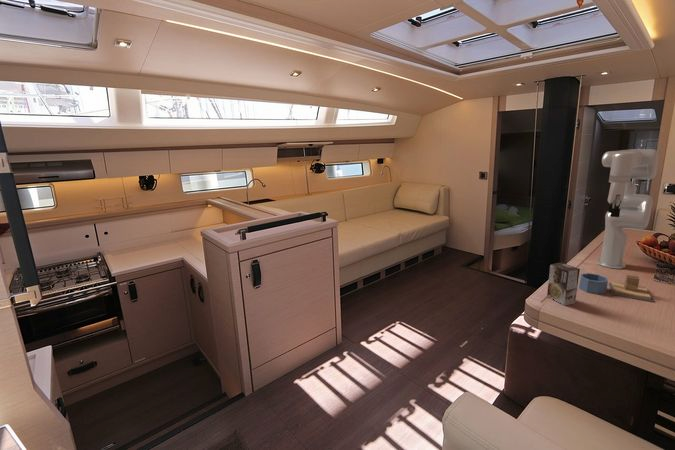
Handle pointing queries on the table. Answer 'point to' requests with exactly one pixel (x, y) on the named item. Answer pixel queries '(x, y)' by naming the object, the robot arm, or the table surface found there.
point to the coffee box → (563, 283)
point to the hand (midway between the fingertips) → (613, 214)
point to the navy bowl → (593, 283)
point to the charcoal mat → (629, 296)
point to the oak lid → (631, 288)
